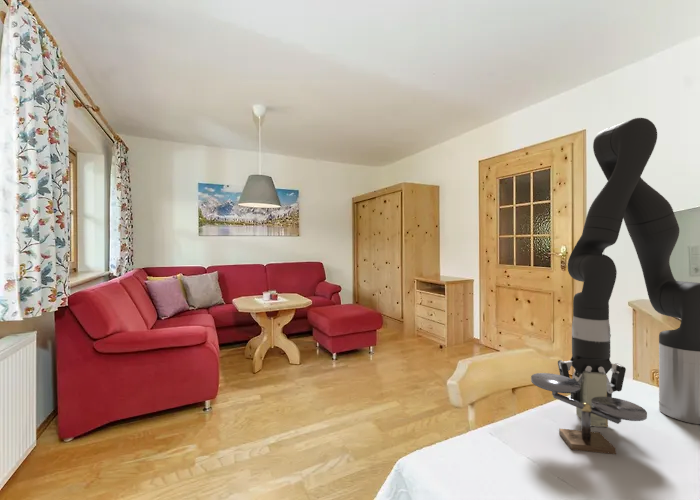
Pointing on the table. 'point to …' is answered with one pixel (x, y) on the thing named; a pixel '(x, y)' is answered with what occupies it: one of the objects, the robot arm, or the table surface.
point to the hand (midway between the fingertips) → (590, 405)
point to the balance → (588, 413)
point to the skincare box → (593, 394)
